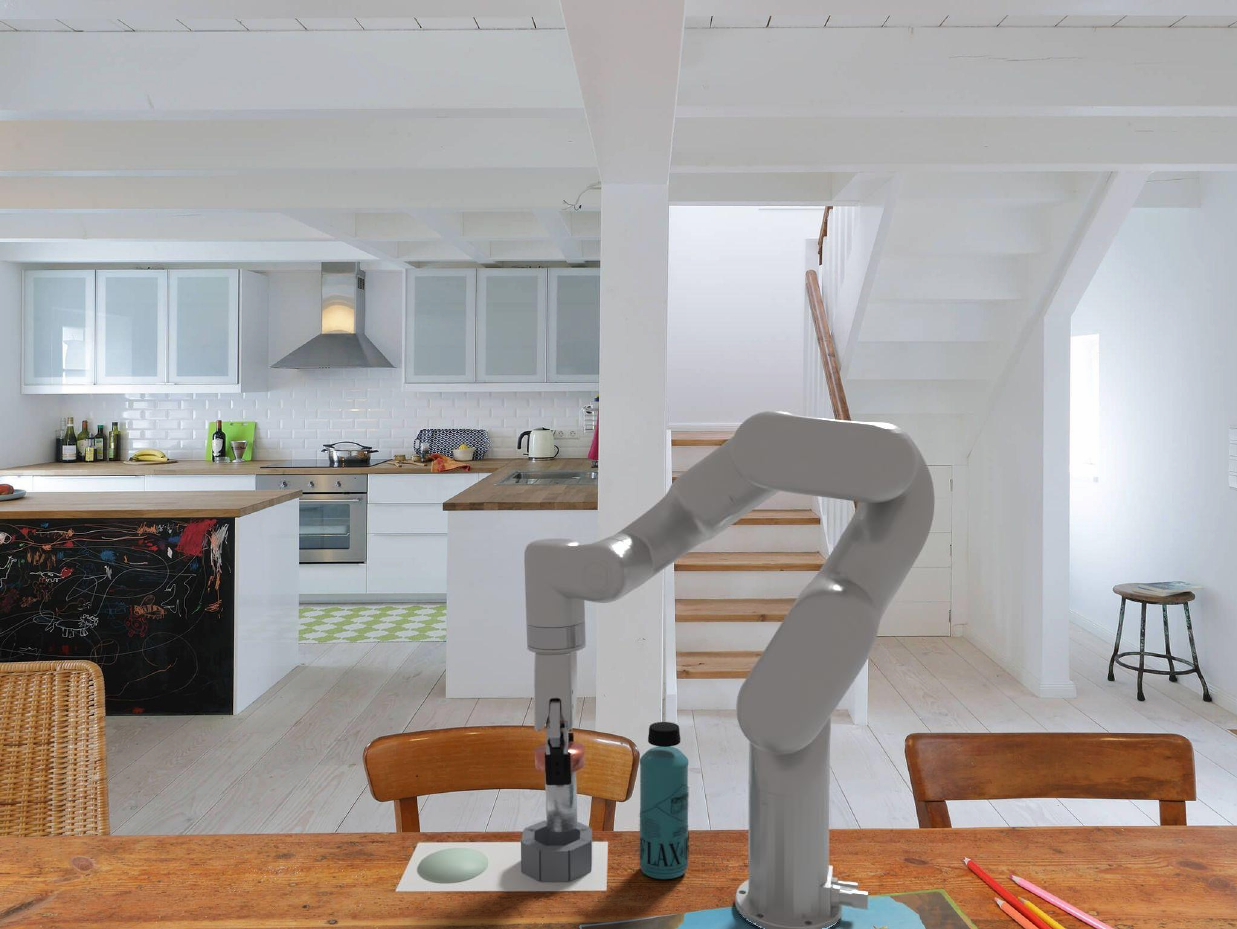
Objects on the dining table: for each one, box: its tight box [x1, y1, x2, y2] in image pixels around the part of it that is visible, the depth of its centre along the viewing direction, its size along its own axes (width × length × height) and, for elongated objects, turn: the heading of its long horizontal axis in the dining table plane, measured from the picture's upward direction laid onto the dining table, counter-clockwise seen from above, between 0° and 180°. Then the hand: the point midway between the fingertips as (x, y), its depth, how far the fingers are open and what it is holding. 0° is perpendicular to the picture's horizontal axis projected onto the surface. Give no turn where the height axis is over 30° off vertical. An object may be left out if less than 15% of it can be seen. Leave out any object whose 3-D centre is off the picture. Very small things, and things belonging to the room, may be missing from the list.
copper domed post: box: [534, 741, 586, 832], centre depth 119 cm, size 6×6×10 cm
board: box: [395, 819, 609, 893], centre depth 119 cm, size 26×13×5 cm, turn 90°
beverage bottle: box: [637, 721, 690, 880], centre depth 117 cm, size 6×7×20 cm
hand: (560, 772), depth 119 cm, fingers closed on copper domed post, 6 cm apart
